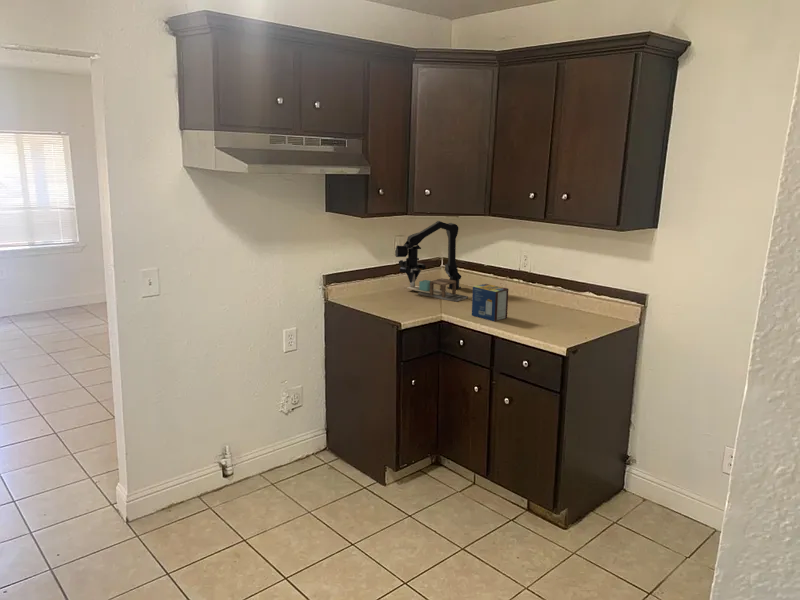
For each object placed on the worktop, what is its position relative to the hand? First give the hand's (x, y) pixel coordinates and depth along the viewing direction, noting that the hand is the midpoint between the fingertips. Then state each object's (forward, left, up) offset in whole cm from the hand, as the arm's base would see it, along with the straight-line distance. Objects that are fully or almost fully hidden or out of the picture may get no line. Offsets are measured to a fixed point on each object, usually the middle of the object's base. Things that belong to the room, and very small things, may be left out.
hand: (412, 282), depth 375 cm
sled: (0, +10, -4) cm, 11 cm away
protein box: (+21, +66, -5) cm, 70 cm away
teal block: (0, +10, -3) cm, 11 cm away
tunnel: (0, +22, -5) cm, 23 cm away
